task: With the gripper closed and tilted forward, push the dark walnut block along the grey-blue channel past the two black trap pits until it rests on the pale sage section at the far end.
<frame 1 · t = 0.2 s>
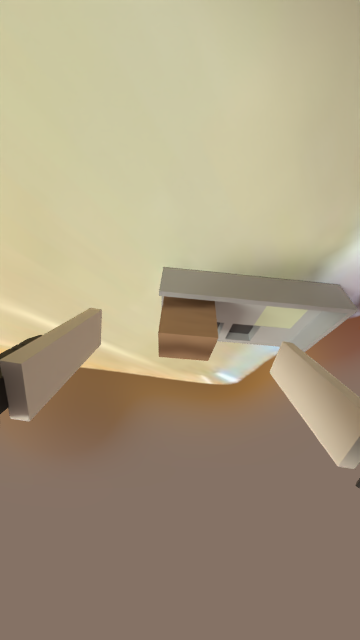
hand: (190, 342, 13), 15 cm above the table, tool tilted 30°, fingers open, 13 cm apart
deck: (238, 299, 30), on the table
block: (187, 303, 28), point 2 cm above the table, touching deck
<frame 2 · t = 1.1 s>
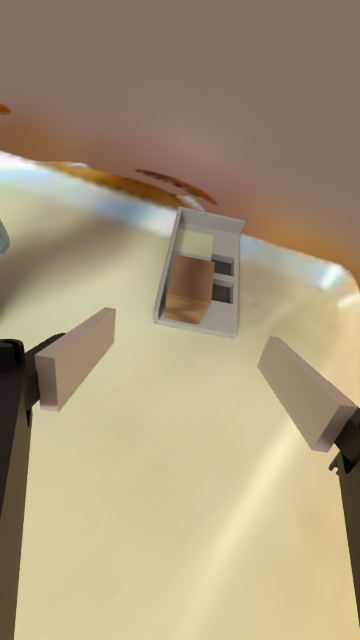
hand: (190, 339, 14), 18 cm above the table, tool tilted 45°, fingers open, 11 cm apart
deck: (188, 274, 38), on the table
block: (184, 304, 33), point 2 cm above the table, touching deck
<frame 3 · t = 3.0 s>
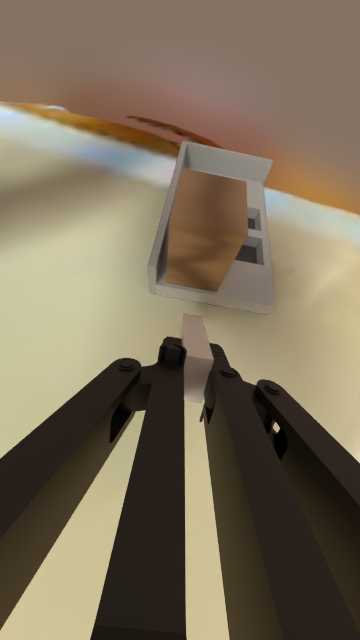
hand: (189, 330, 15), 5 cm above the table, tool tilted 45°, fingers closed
deck: (197, 230, 28), on the table
block: (194, 264, 22), point 2 cm above the table, touching deck
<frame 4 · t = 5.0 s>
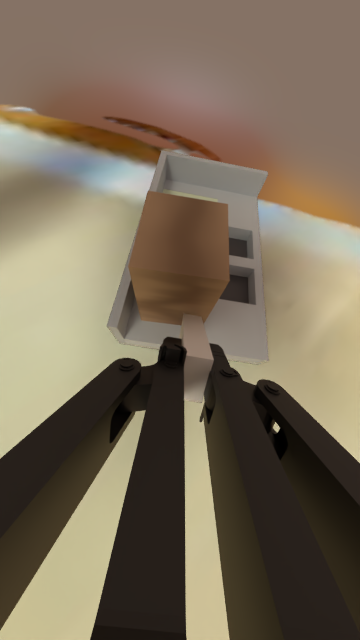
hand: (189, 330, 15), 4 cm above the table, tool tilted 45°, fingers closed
deck: (180, 258, 24), on the table
block: (175, 294, 19), point 2 cm above the table
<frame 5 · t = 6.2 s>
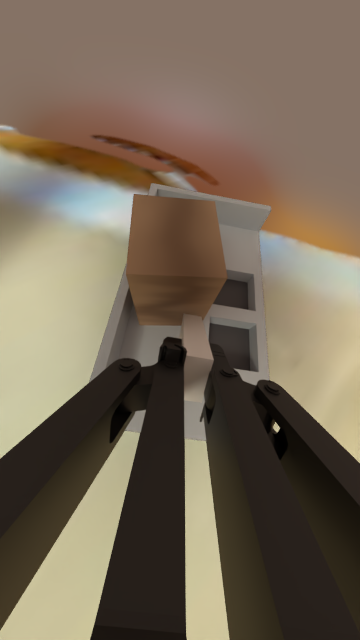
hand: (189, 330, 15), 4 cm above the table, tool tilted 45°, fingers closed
deck: (172, 306, 21), on the table
block: (169, 295, 19), point 2 cm above the table, touching gripper
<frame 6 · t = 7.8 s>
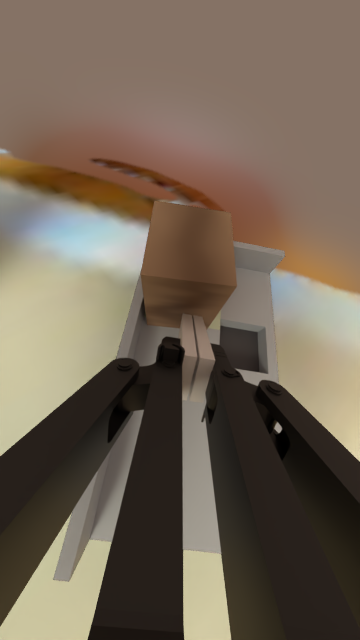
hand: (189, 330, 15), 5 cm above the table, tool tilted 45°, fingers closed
deck: (175, 363, 19), on the table
block: (179, 298, 20), point 2 cm above the table, touching deck, gripper
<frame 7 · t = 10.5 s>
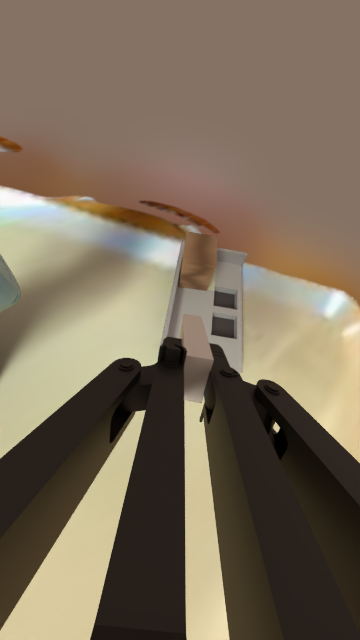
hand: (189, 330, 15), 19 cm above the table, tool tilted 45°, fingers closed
deck: (192, 307, 39), on the table
block: (193, 276, 40), point 2 cm above the table, touching deck
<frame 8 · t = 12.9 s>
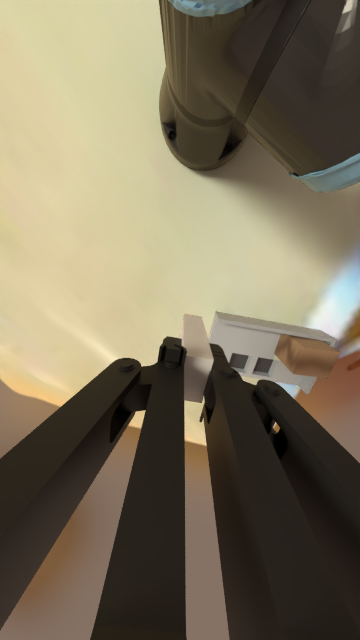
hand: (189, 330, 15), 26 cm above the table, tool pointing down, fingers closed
deck: (260, 338, 44), on the table
block: (292, 344, 42), point 2 cm above the table, touching deck
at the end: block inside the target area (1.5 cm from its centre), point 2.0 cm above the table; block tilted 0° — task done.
